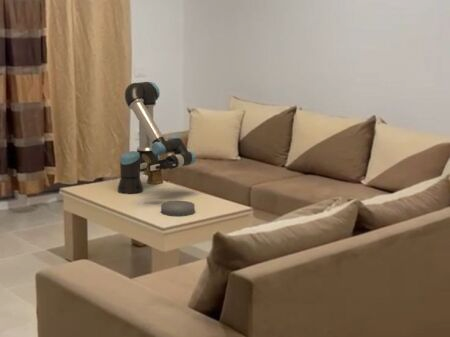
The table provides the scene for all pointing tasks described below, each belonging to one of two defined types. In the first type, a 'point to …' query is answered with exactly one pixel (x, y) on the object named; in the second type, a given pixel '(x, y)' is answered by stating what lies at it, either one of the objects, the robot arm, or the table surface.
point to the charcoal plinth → (177, 208)
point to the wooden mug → (152, 172)
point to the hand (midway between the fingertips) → (145, 167)
